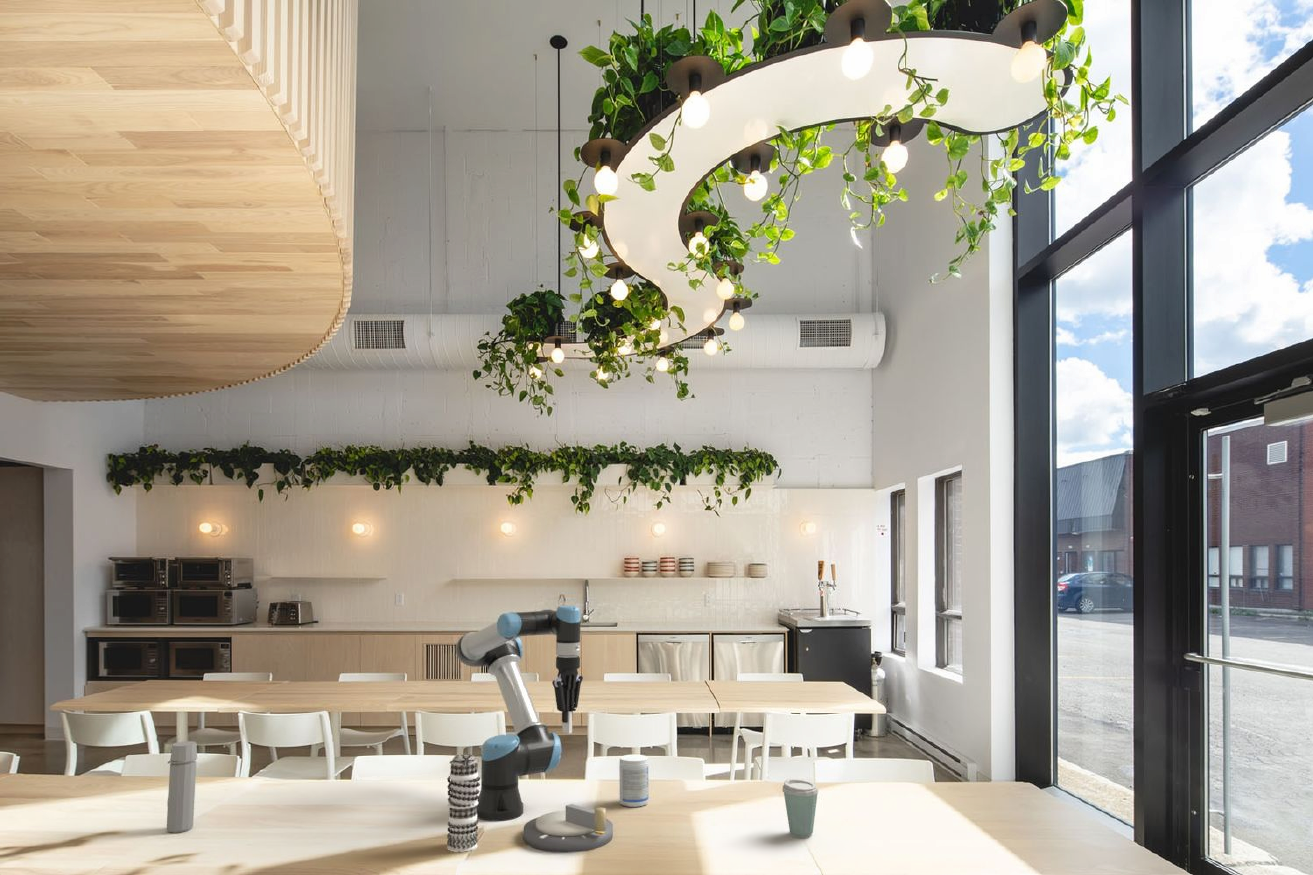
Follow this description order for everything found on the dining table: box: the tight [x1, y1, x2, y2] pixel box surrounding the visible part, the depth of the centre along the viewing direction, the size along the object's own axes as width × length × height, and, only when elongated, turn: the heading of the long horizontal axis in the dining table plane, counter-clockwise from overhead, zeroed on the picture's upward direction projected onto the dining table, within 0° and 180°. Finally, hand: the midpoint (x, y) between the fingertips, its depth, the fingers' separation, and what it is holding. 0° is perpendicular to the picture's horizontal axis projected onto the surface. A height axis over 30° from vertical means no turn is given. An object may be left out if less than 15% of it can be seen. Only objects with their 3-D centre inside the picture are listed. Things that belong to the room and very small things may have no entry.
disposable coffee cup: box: [782, 778, 819, 839], centre depth 271 cm, size 11×11×15 cm
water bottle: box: [166, 740, 198, 834], centre depth 275 cm, size 9×8×25 cm
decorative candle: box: [446, 753, 481, 853], centre depth 260 cm, size 9×9×25 cm
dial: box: [536, 803, 607, 836], centre depth 267 cm, size 24×19×7 cm
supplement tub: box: [618, 754, 650, 808], centre depth 302 cm, size 10×10×15 cm
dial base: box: [522, 817, 614, 853], centre depth 268 cm, size 26×26×3 cm
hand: (567, 732), depth 286 cm, fingers closed
